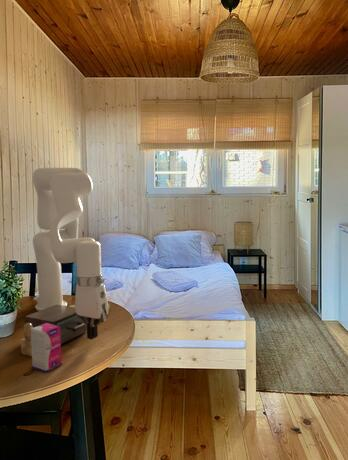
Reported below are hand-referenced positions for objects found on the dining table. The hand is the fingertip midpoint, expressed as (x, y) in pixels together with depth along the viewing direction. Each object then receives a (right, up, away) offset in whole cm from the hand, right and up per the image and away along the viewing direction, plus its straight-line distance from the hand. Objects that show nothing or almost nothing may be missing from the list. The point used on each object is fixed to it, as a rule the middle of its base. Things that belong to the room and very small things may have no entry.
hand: (92, 337), depth 132 cm
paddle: (-18, -4, -6) cm, 19 cm away
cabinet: (-14, -2, +8) cm, 16 cm away
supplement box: (-10, -5, -15) cm, 18 cm away
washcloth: (-8, +1, +30) cm, 31 cm away
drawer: (-10, -1, +6) cm, 12 cm away
